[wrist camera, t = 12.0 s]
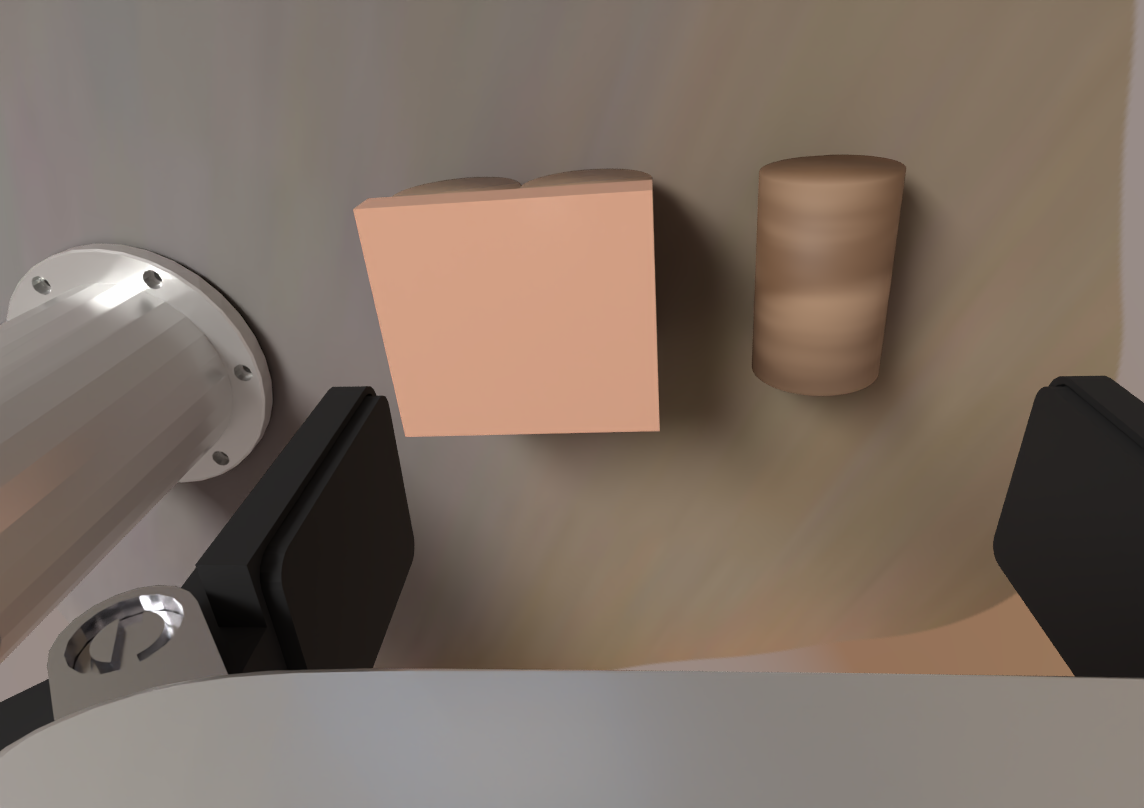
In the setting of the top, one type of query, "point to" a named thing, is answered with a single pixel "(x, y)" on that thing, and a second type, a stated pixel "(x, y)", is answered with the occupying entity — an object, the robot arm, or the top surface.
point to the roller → (824, 271)
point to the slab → (518, 303)
